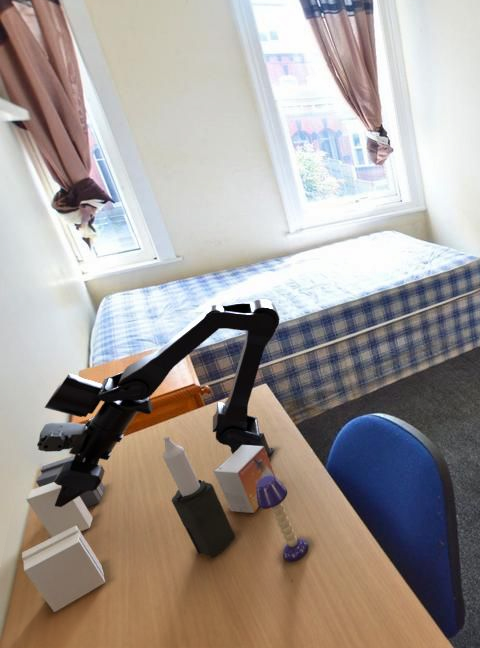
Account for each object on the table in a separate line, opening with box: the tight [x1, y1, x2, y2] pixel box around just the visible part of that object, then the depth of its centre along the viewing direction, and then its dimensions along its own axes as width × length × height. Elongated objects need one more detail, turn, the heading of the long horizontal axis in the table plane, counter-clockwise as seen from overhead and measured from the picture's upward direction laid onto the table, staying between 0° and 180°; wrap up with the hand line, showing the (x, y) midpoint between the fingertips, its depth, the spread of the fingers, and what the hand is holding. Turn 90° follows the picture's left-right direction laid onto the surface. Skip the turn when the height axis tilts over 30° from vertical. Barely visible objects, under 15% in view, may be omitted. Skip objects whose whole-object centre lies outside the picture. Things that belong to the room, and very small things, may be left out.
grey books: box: [35, 455, 105, 508], centre depth 99 cm, size 7×5×10 cm
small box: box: [213, 445, 276, 514], centre depth 95 cm, size 8×6×10 cm
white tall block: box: [26, 482, 94, 538], centre depth 91 cm, size 6×3×11 cm, turn 121°
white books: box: [21, 526, 106, 613], centre depth 79 cm, size 7×5×10 cm
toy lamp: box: [256, 475, 309, 562], centre depth 81 cm, size 5×5×17 cm
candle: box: [162, 435, 236, 558], centre depth 82 cm, size 5×5×25 cm
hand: (64, 491), depth 91 cm, fingers open, 9 cm apart
